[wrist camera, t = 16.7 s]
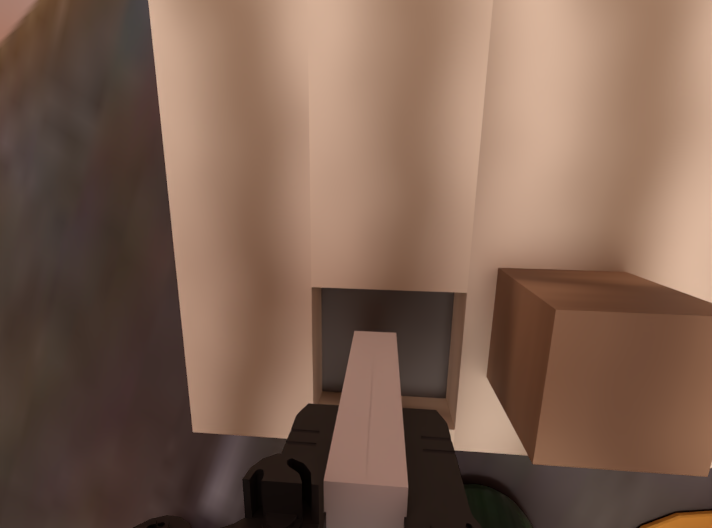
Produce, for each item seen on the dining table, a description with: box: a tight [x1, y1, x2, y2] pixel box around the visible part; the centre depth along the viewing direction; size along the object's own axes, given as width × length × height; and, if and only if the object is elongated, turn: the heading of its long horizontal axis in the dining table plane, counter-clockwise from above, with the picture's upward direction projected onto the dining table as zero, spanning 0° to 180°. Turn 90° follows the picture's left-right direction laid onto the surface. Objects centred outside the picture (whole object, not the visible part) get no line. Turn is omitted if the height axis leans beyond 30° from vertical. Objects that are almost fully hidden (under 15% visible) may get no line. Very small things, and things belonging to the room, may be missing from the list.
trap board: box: [148, 0, 712, 468], centre depth 12 cm, size 32×18×6 cm, turn 89°
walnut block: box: [486, 268, 712, 477], centre depth 11 cm, size 4×4×4 cm
